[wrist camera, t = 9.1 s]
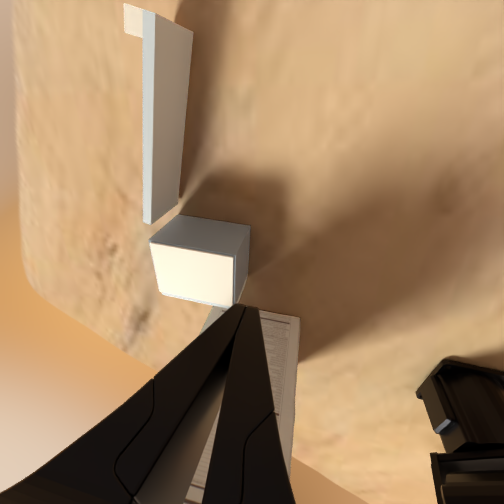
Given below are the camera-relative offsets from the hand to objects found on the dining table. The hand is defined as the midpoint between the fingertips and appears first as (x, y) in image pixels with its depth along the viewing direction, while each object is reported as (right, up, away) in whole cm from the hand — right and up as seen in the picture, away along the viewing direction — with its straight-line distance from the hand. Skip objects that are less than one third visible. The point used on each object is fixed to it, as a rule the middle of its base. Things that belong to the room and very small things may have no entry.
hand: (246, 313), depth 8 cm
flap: (-5, +11, +9) cm, 15 cm away
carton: (-3, +3, +14) cm, 14 cm away
